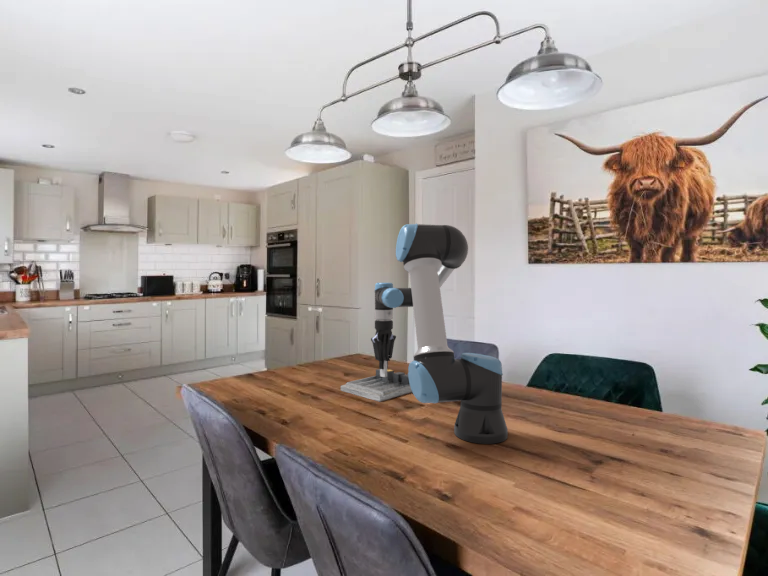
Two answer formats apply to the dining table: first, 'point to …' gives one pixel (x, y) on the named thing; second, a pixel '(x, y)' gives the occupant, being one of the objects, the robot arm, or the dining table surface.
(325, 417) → the dining table surface
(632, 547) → the dining table surface
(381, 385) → the panel
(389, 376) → the toggle
